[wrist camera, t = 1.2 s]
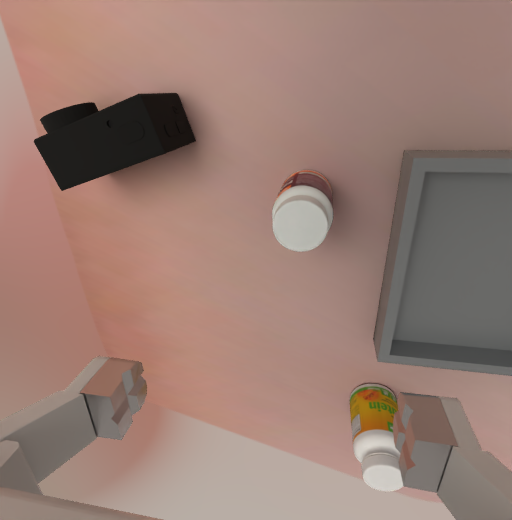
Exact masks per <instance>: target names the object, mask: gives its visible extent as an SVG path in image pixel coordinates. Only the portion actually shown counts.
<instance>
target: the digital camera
mask: <svg viewBox="0 0 512 520" xmlns="http://www.w3.org/2000/svg"><path fill="white" fill-rule="evenodd" d="M171 105H172V106H171ZM40 121H41V123H42V124H43V126H44V128H45V130H46V131H47V133H48V134H46V135H44V136H41V137H39V138H37V139H35V140H34V143H35V145H36V147H37V148H38V150H39V152H40V154H41V155H42V157H43V159H44V161H45V163H46V164H47V166H48V168H49V170H50V171H51V173H52V175H53V177H54V178H55V180H56V182H57V184H58V186H59V187H60V189H61V190H62V191H63V190H66V189H68V188H71V187H74V186H77V185H79V184H82V183H85V182H88V181H90V180H93V179H96V178H99V177H101V176H104V175H107V174H110V173H112V172H115V171H118V170H121V169H123V168H126V167H129V166H132V165H134V164H137V163H140V162H143V161H145V160H148V159H151V158H154V157H156V156H159V155H162V154H165V153H167V152H170V151H172V150H175V149H177V148H180V147H182V146H185V145H187V144H190V143H192V142H195V141H196V139H195V137H194V134H193V132H192V129H191V127H190V124H189V121H188V119H187V116H186V114H185V111H184V108H183V106H182V103H181V101H180V98H179V96H178V94H177V93H157V94H137V95H135V96H133V97H130V98H128V99H126V100H124V101H121V102H119V103H117V104H114V105H112V106H110V107H108V108H105V109H103V110H101V111H98V109H97V107H96V105H95V103H82V104H77V105H73V106H70V107H66V108H63V109H60V110H57V111H55V112H52V113H50V114H48V115H46V116H44V117H42V118H41V119H40Z"/></svg>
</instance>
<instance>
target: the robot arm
mask: <svg viewBox="0 0 512 520" xmlns="http://www.w3.org/2000/svg"><path fill="white" fill-rule="evenodd" d="M143 371H144V370H143V366H142V363H141V362H139V361H133V360H126V359H119V358H110V357H103V356H97V357H95V358H94V359H93V360H92V361H91V362H90V363H89V364H88V365H87V366H86V367H85V368H84V370H83V371H82V372H81V373H80V374H79V375H78V376H77V377H76V378H75V379H74V380H73V382H72V383H71V384H70V385H69V386H68V387H67V388H66V389H65V390H64V391H58V392H56V393H54V394H52V395H50V396H48V397H46V398H44V399H42V400H40V401H38V402H36V403H34V404H32V405H30V406H28V407H26V408H24V409H22V410H20V411H18V412H16V413H14V414H12V415H11V416H8V417H6V418H4V419H2V420H0V520H162V519H157V518H152V517H147V516H143V515H137V514H133V513H128V512H123V511H118V510H113V509H108V508H103V507H98V506H94V505H89V504H84V503H79V502H74V501H69V500H64V499H60V498H55V497H50V496H44V495H43V494H42V492H41V490H40V487H39V485H38V483H39V482H41V481H42V480H43V479H45V478H46V477H47V476H48V475H50V474H51V473H52V472H54V471H55V470H56V469H57V468H59V467H60V466H61V465H63V464H64V463H65V462H67V461H68V460H69V459H70V458H72V457H73V456H74V455H76V454H77V453H78V452H79V451H81V450H82V449H83V448H85V447H86V446H87V445H89V444H90V443H91V442H92V441H94V440H95V439H96V438H97V437H104V438H111V439H118V440H122V439H123V437H124V435H125V433H126V432H127V430H128V429H129V427H130V425H131V424H132V422H133V421H132V415H133V414H135V413H136V412H137V411H139V410H140V409H141V407H142V405H143V404H144V401H145V398H146V394H147V384H146V381H145V379H144V378H143V377H142V376H141V374H142V372H143ZM397 404H398V409H399V410H398V411H397V412H395V414H394V420H393V436H394V443H395V448H396V449H397V450H398V451H399V452H400V458H399V462H398V463H399V468H400V472H401V477H402V482H403V486H405V487H410V488H415V489H420V490H425V491H431V492H436V493H437V495H438V496H439V498H440V499H441V500H442V502H443V503H444V504H445V506H446V507H447V508H448V510H449V511H450V512H451V514H452V515H453V516H454V518H455V519H456V520H512V472H511V471H510V470H509V469H508V468H507V467H506V466H504V465H503V464H502V463H501V462H500V461H499V460H498V459H496V458H495V457H494V456H493V455H492V454H491V453H490V452H488V451H482V449H481V447H480V444H479V442H478V440H477V438H476V436H475V434H474V431H473V429H472V427H471V425H470V423H469V421H468V418H467V416H466V414H465V412H464V410H463V407H462V405H461V403H460V401H459V400H458V399H457V398H449V397H439V396H437V397H436V396H430V395H420V394H411V393H402V392H400V394H399V395H398V400H397Z"/></svg>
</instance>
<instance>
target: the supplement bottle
mask: <svg viewBox="0 0 512 520" xmlns="http://www.w3.org/2000/svg"><path fill="white" fill-rule="evenodd" d="M397 411H398V405H397V401H396V397H395V395H394V394H393V392H392V391H391V390H390V389H388V388H387V387H385V386H383V385H379V384H364V385H361V386H358V387H357V388H355V389H354V390H353V392H352V393H351V395H350V412H351V425H352V438H353V449H354V453H355V456H356V458H357V459H358V460H359V462H361V463H362V465H361V468H362V475H363V479H364V481H365V482H366V484H368V485H369V486H370V487H372V488H374V489H376V490H380V491H395V490H398V489H400V488H402V487H403V482H402V477H401V472H400V468H399V463H398V462H399V458H400V452H399V451H398V450H397V449H396V448H395V443H394V436H393V420H394V414H395V412H397Z"/></svg>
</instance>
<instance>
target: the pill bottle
mask: <svg viewBox="0 0 512 520" xmlns="http://www.w3.org/2000/svg"><path fill="white" fill-rule="evenodd" d="M272 220H273V224H272V225H273V232H274V235H275V237H276V239H277V240H278V242H279V243H280V244H281V245H283V246H284V247H286V248H287V249H290V250H292V251H297V252H304V251H309V250H312V249H314V248H316V247H317V246H319V245H320V244H321V243H322V242H323V240H324V239H325V237H326V235H327V232H328V231H329V229H330V227H331V224H332V221H333V200H332V189H331V186H330V184H329V182H328V180H327V179H326V178H325V177H324V176H323V175H321V174H320V173H318V172H316V171H312V170H301V171H297V172H295V173H293V174H292V175H290V176H289V177H288V178H287V179H286V180H285V182H284V183H283V185H282V187H281V190H280V192H279V194H278V196H277V199H276V201H275V203H274V206H273V208H272Z"/></svg>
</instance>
